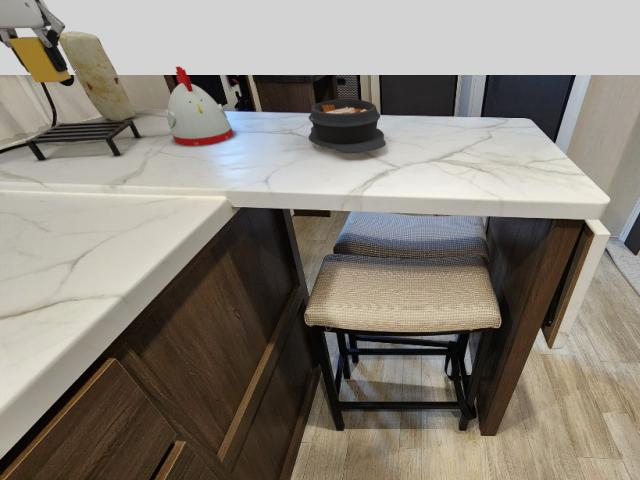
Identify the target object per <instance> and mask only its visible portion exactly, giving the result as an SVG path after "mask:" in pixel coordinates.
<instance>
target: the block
mask: <svg viewBox="0 0 640 480" xmlns="http://www.w3.org/2000/svg"><path fill="white" fill-rule="evenodd" d="M9 41H10V43H11V44H12V46H13V47H14V49H15V51H16V52H17V54H18V55H19V57H20V58H21V60H22V62H23V63H24V65H25V66H26V68H27V69H28V71H29V72H30V73H29V74H30V76H31V77H32V79H33V80H34V82H35V83H61V82H65V81H66V80H69V79H72V76H71V75H70V73H69V71H68V70H66V71H63V72H58V71H56V69H55V67H54V66H53V64H52V62H51V61H50V59H49V57H48V56H47V54H46V52H45V50H44V48H46V47H45V45H44V44H43V43H42V41H41V40H40V39H39V38H38V36H21V37H18V38H14V39H9Z"/></svg>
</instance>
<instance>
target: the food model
mask: <svg viewBox="0 0 640 480" xmlns="http://www.w3.org/2000/svg"><path fill="white" fill-rule="evenodd" d="M58 44H59V45H60V47H61V49H62V51H63V53H64V55H65V57H66V60H67V61H68V63H69V65H70V67H71V69H72V70H73V73H74V75H75V77H76V78H77V80H78V82H79V84H80V85H81V87H82V89H83V91H84V92H85V94H86V96H87V98H88V99H89V101H90V102H91V104H92V105H93V107H94V108H95V109H96V110H97V112H98V113H99V114H100V116H101V117H102V118H103V119H105V120H110V121H126V120H127V119H130V118H134V117H135V115H136V112H135V110H134V107H133V105H132V104H131V101H130V99H129V96H128V94H127V92H126V90H125V87H124V86H123V84H122V82H121V80H120V78H119V75H118V73H117V71H116V69H115V67H114V64H113V63H112V61H111V60H110V58H109V56H108V54H107V53H106V50H105V49H104V46H103V45H102V42H101V39H100V38H99V37H98V36H97V35H94V34H92V33H87V32H83V31H77V30H76V31H75V30H74V31H73V30H72V31H65V32H62V33H61V34H60V38H59V41H58ZM75 70H76V71H75ZM74 71H75V72H74Z"/></svg>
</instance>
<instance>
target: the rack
mask: <svg viewBox="0 0 640 480" xmlns="http://www.w3.org/2000/svg"><path fill="white" fill-rule="evenodd" d="M128 127H129V128H130V131H131V132H132V134H133V136H134V138H135V139H140V138H142V136H141V134H140V132H139V129H138V128H137V126H136V124H135V122H134V120H133V119H128V120H122V121H112V120H109V121H108V120H107V121H88V122H87V121H86V122H66V123H65V122H59V123H57V124H56V125H53V126H52V127H49V128H48V129H46V130H44V131H42V132H40V133H38V134H37V135H34V136H33V137H31V138H29V139H27V140H25V144H26V145H27V147H28V148H29V149H30V151H31V152H32V153H33V155H34V156H35V158H36V159H37V160H38V161H39V162H40V161H46V160H47V157H46V155H44V153H43V152H42V151H41V149H40V148H39V146H38V144H51V143H70V142H89V141H91V142H92V141H105V143H107V145H108V147H109V149H110V151H111V153H112V154H113V156H114V157H120V156H121V155H122V154H121V152H120V150H119V148H118V146H117V145H116V143H115V141H114V138H115V137H117V136H118V135H120V133H122V132H123V131H125V130H126V129H127V128H128Z"/></svg>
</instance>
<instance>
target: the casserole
mask: <svg viewBox="0 0 640 480" xmlns="http://www.w3.org/2000/svg"><path fill="white" fill-rule="evenodd" d="M380 118H381V114H380V113H379V112H378V109H377V106H376V104H374V103H373V102H370V101H367V100H362V99H353V98H352V99H351V98H339V99H330V100H325V101H320V102H317V103H315V104H313V105H312V106H311V110H310V115H308V120H309V121H310V122H311V123H312V126H311V128H310V133H309V135H308V140H309V142H311V143H312V144H313V145H316V146H318V147H322V148H327V149H330V150H333V151H336V152H338V153H343V154H361V153H366V152H367V153H368V152H372V151H376V150H379V149H381V148H383V147H385V146H386V144H387V142H386V140H385V133H384V132H383V131H382V130H381V129H380V128H378V121H379V120H380Z"/></svg>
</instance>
